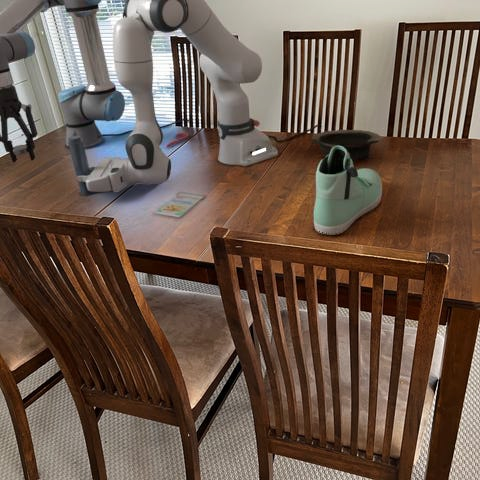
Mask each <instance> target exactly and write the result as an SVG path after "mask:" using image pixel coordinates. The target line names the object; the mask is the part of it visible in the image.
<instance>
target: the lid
mask: <svg viewBox="0 0 480 480" xmlns="http://www.w3.org/2000/svg"><path fill="white" fill-rule="evenodd" d="M12 152H13V154H15V155H16V156H20V155H24V154H27V153H29V152H28V149H27V145H26V144H18V145H15V146H13V148H12Z"/></svg>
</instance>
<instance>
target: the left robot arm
mask: <svg viewBox="0 0 480 480" xmlns="http://www.w3.org/2000/svg"><path fill="white" fill-rule="evenodd" d="M101 2H102V0H13V1H12V2H11V3H10V4H8V6H6V7H5V8H4V9H3V10H2V11H1V12H0V126H1V130H0V131H1V133H0V143H2V144H3V146H4V150H5V152H6V153H9V155H10V158H11V162H12V163H16V162H17V160H18V158H17V155H15V154H13V152H12V148H13V147H14V145H13V142H12V139H10V138H9V130H8V127H9V126H8V119H14V121H16V123H17V125H18V126H19V128H20V130H21V132H22V133H23V135H24V136H25V138H26V139H25V145H27V149H28V152H27V153H28V154H29V158H30V161H34V160H35V158H36V155H35V152H34V150H35V149H36V145H35V141H34V138H36V137H37V136H38V135H39V133H38V130H37V127H36V123H35V120H34V117H33V113H32V104H24V103H23V102H21V101H20V99H19V96H18V92H17V89H16V86H15V85H14V84H15V81H14V78H13V75H12V72H11V67H10V65H9V63H12V62H16V61H20V60H22V59H25V60H26V59H27V58H29V57H32V56H33V55H34V54H35V51H36V45H35V41H34V39H33V37H32V36H31V35H30V34H29V33H27V32H25V31H23V29H25V28H26V26H27V25H28V24H29V23H30V22H32V20H34V19H35V18H36V17H37V16H38V15H39V14H40V13H46V12H47V11H49V9H50V8H55V7H64V9H65V12H66V14H68V15H69V16H70V17H71V19H72V23H73V28H74V31H75V36H76V40H77V44H78V48H79V52H80V56H81V61H82V65H83V68H84V73H85V78H86V81H87V85H76V86H73V87H69V88H66V89H63V90H61V91H60V92H59V93H58V100H59V105H60V108H61V113H62V116H63V119H64V123H65V126H66V133H65V144H66V148H68V149H69V145H68V142H69V140H68V138H69V137H71V136H80V137H81V139H82V141H83V145H84V149H92V148H94V147H97V146H99V145H102V143H104V137H120V136H124V135H126V134H131V133H132V131H133V129H131V130H128V131H124V132H121V133H107V134H106V133H105V134H104V133H103V134H102V132H101V130H100V129H99V127H98V125H97V124H96V122H97V121H99V122H106V123H107V122H116V121H118V120H120V119H121V118H122V116H123V114H124V112H125V108H126V100H125V96H124V94H123V93H122V92H121V91H119V90H117V87H116V84H115V83H114V82H112V80H111V77H110V73H109V68H108V64H107V59H106V55H105V50H104V46H103V45H104V44H103V40H102V36H101V35H102V34H101V31H100V26H99V21H98V17H97V13H98V12H99V10H100V7H99V5H100V3H101ZM21 111H23V113H25V117H26V120H27V124H28V126H27V124H26V122H25V120H24V119H23V117H22V114H21V113H20V112H21ZM183 121H187V123H188V122H191V120H189V119H187V118H181V119H179V120H177V121H174V122H170V123H168V124H164V125H162V126H160V128H161V129H163V128H168V127H170V126H173V125H176V124H178V123H181V122H183Z"/></svg>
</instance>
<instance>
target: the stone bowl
mask: <svg viewBox="0 0 480 480" xmlns="http://www.w3.org/2000/svg"><path fill="white" fill-rule="evenodd" d="M383 139H384V137H383V136H381V134H378V133H376V132H373V131H369V130H361V129H338V130H337V129H336V130H327V131H322V132H316V133H315V134H313V135H312V137H311V138H310V141H312V142H313V143H316V144H319V149H320V152H321V153H322V155H323V156H324V157H326V156H327V155H329V154H330V152H331V149H332V148H333V147H334V146H342V147H344V148H345V149H346V150H347V152H348V153H349V156H350V159H352V161H353V164H354V163H357V161H358V159H367V158H369V157H370V154H371V148H372V145H373V144H376V143H378V142H381V141H382V140H383Z"/></svg>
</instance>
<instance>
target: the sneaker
mask: <svg viewBox="0 0 480 480" xmlns="http://www.w3.org/2000/svg"><path fill="white" fill-rule="evenodd" d="M317 165H318V166H317V168H316V172H315V201H314V207H313V225H314V229H315V231H316V232H318V233H320V234H323V235H326V236H327V235H328V236H336V235H339V234H342V233H344V232H345V231H347V230H348V229H349V228H350V227H351V226H352V225H353V224H354V222H356V221H357V220H358V219H359V218H360V217H362V216H363V215H365V214H367V213H370V212H372V210H374V209H375V208H377V207H378V205H380V203H381V200H382V196H383V184H382V183H383V182H382V179H381V176H380V175H379V173H378V172H377V171H376V170H374V169H372V168H367V167H365V168H358V169H357V168H355V167H354V163H353V161H352V159H350V156H349V153H348V152H347V150H346V149H345V148H344V147H342V146H334V147H333V148H332V149H331V152H330V154H329V155H327V156H324V158H322V159H321V160H320V161H319V163H318V164H317ZM343 230H344V231H343ZM319 231H320V232H319ZM322 232H323V233H322ZM339 232H340V233H339ZM326 233H327V234H326ZM328 233H329V234H328ZM335 233H337V234H335Z"/></svg>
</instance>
